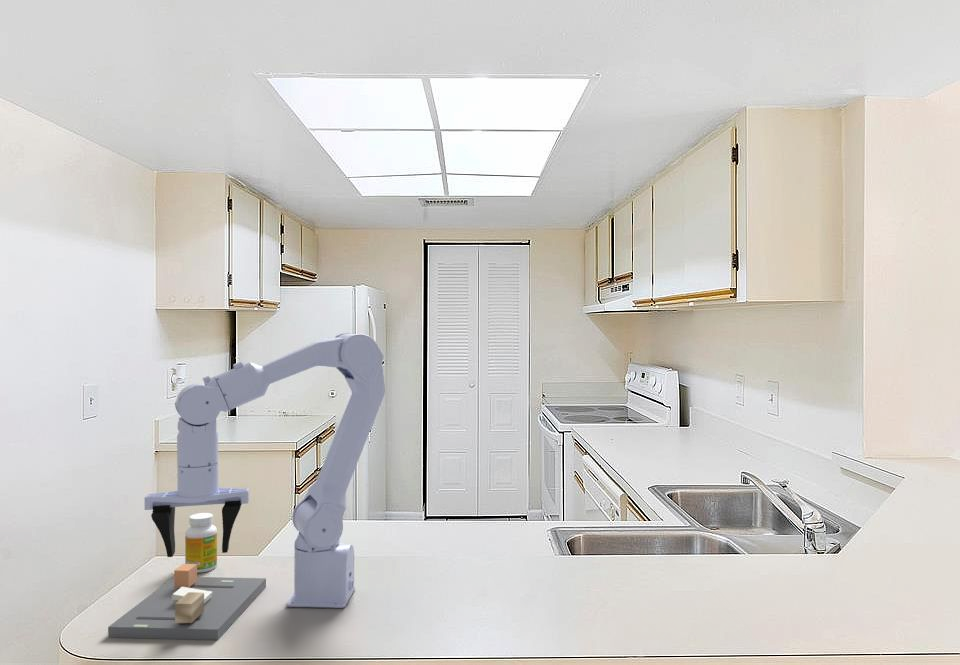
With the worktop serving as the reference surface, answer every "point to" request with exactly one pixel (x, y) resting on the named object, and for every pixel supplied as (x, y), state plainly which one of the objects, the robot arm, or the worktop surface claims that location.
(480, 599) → the worktop surface
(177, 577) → the peach slider
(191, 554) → the supplement bottle
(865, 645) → the worktop surface
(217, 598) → the switch panel
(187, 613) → the tan cardboard carton
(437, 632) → the worktop surface
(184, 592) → the off-white rocker
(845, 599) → the worktop surface
